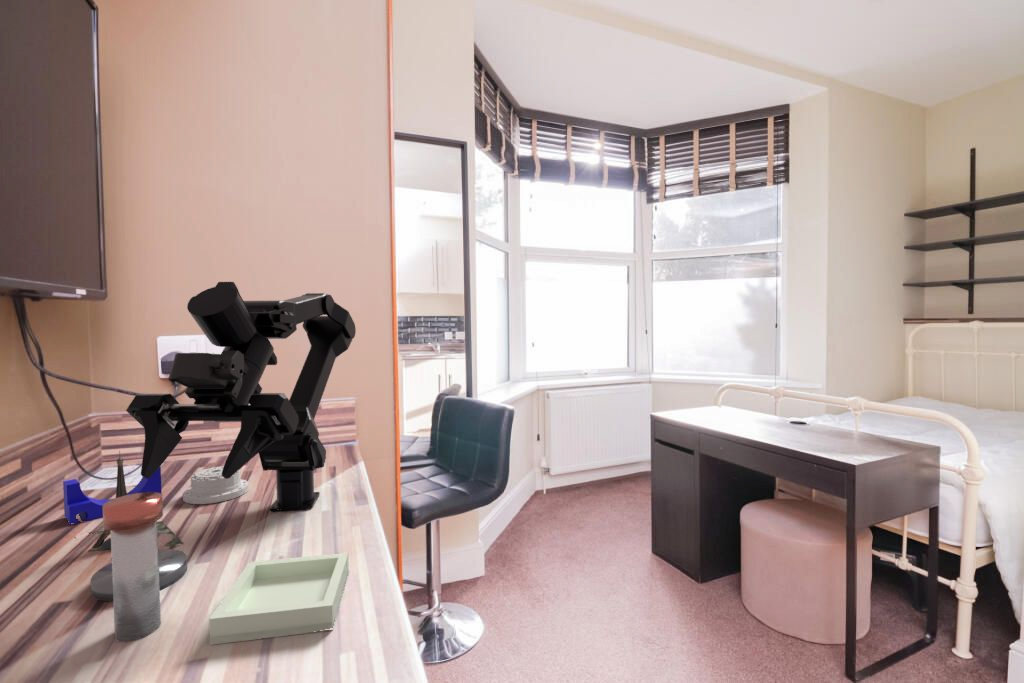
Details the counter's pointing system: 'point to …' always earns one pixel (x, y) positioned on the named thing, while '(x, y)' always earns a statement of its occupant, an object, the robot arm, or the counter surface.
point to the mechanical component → (214, 487)
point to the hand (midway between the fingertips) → (184, 476)
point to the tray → (281, 599)
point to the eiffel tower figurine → (106, 545)
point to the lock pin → (134, 563)
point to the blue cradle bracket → (94, 507)
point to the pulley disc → (169, 573)
